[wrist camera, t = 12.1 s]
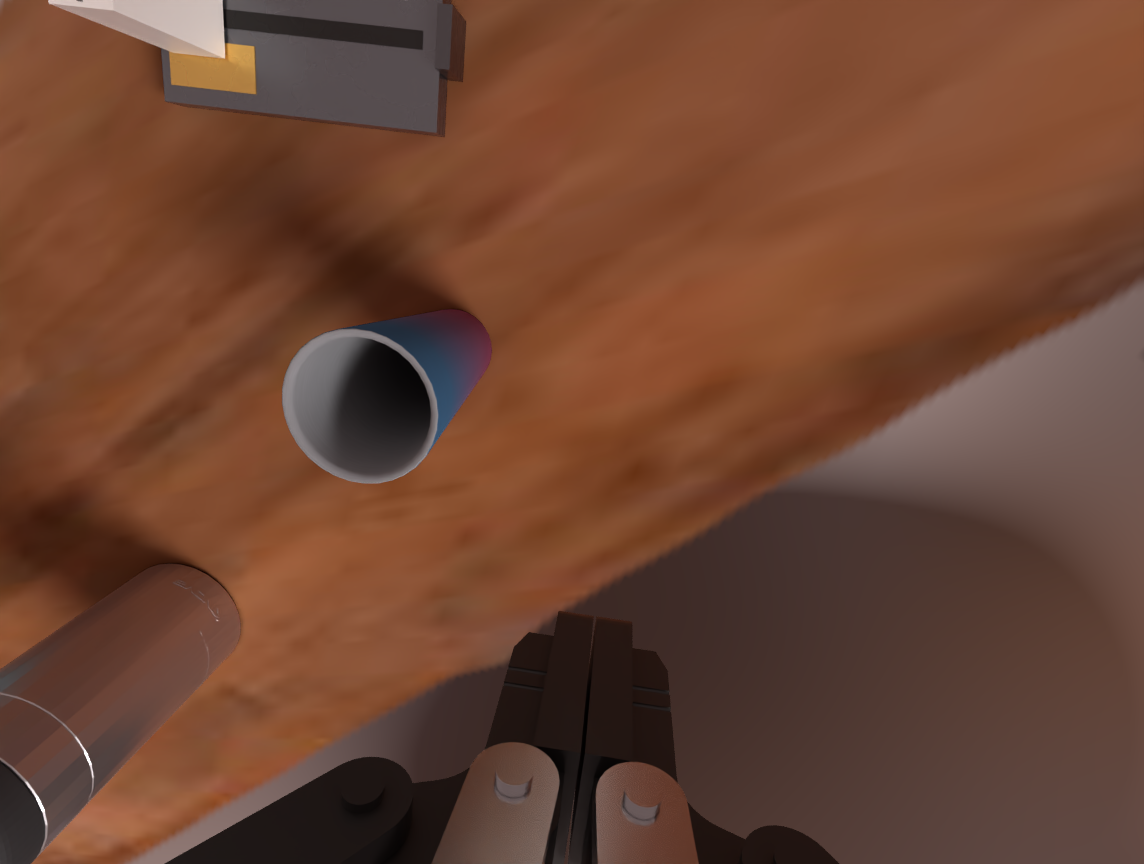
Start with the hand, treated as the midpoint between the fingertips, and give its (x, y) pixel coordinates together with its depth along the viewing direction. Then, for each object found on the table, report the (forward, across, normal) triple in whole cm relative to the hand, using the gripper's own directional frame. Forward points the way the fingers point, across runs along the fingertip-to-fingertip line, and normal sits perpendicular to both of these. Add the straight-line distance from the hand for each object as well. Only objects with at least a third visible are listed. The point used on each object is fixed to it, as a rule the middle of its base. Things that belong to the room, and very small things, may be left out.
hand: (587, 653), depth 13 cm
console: (+29, +20, -17) cm, 39 cm away
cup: (+29, +11, 0) cm, 31 cm away
